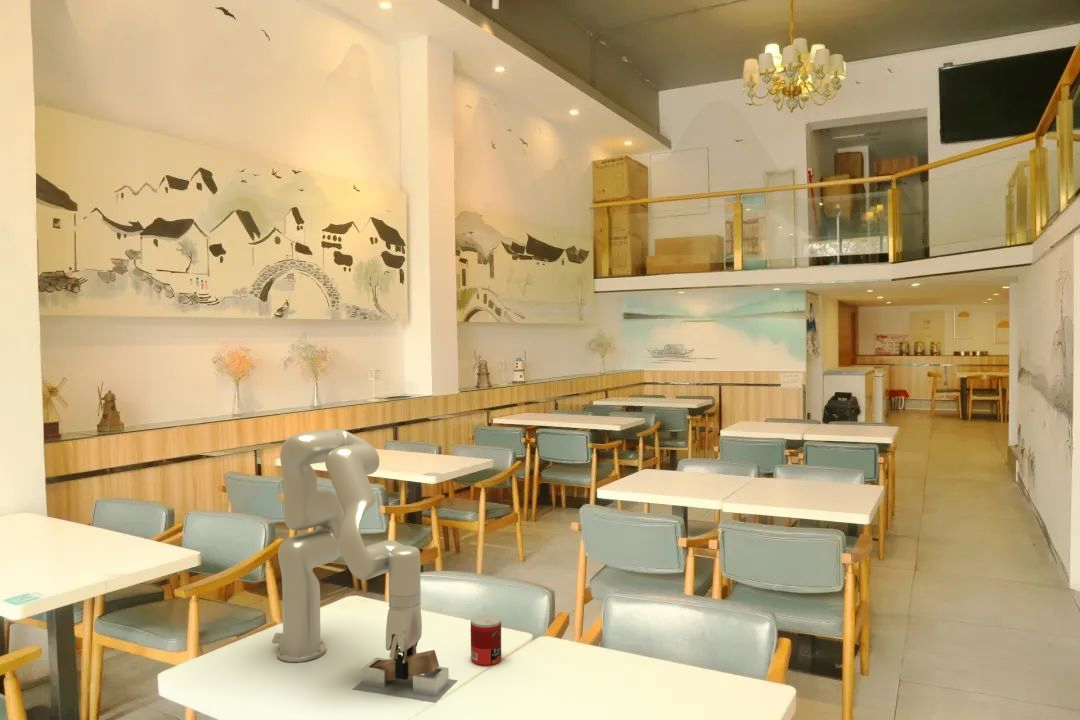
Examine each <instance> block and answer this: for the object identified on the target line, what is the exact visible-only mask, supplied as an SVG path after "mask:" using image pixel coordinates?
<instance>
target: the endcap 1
mask: <svg viewBox="0 0 1080 720" xmlns="http://www.w3.org/2000/svg"><path fill="white" fill-rule="evenodd" d="M389 659H390V658H382V657H375V658H374V659H373V660H372V661H370V662H369V663H368V664H367V665H365V666H364V667H362V669H361V670H362V671H361V673H362V675H361V676H362V681H361V682H362V685H366V686H372V687H379V688H386V687H387V670H383V669H377V668H372V667H373V666H374V665H375V664H376V663H378V662H380V661H384V660H389Z"/></svg>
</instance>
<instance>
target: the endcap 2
mask: <svg viewBox="0 0 1080 720" xmlns="http://www.w3.org/2000/svg"><path fill="white" fill-rule="evenodd" d="M423 675H424V676H423ZM449 679H450V678H449V667H444V666H439V667H438V668H437V669H436V670H435V671H433V672H429V673H425V674H420V675H417V674H415V675H414V676H413V693H416V694H423V695H429V696H435V697H436V696H437V695H438V694H439V693H440V692H441V691H442V690H443V689H444V688H446V687H447V686H448V685H449Z"/></svg>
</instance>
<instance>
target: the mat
mask: <svg viewBox="0 0 1080 720" xmlns="http://www.w3.org/2000/svg"><path fill="white" fill-rule="evenodd" d="M422 675H423V676H424V674H422ZM457 682H458V679H452V678H449V685H448V686H447V687H446V688H444V689H443V690H442V691H441V692H440V693H439V694H438V695H437V696H436V697H435V696H429V695H423V694H416V693H413V676H410V677H408V679H407V680H404V679H396V680H391V681H387V687H386V688H379V687H372V686H366V685H362V681H360V682H359V683H357V685H355V686H354V687H353V688H352V690H354V691H360V692H367V693H373V694H378V695H379V694H380V695H384V696H385V695H386V696H390V697H391V696H392V697H398V698H402V699H403V698H404V699H409V700H416V701H420V702H428V703H434V704H436V703H437V702H439V700H440V699H441V698H442V697H443V696H445V694H446V693H447V692H448V691H449V690H450V689H451V688H452V687H453V686H455V684H456V683H457Z"/></svg>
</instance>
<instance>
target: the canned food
mask: <svg viewBox="0 0 1080 720" xmlns="http://www.w3.org/2000/svg"><path fill="white" fill-rule="evenodd" d="M470 660H471V663H472V664H473V665H476V666H479V667H491V666H495V665H498V664H499V663H501V661H502V619H501V617H499V616H497V615H495V614H479V615H475V616H473V617H472V618H471V619H470Z"/></svg>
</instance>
